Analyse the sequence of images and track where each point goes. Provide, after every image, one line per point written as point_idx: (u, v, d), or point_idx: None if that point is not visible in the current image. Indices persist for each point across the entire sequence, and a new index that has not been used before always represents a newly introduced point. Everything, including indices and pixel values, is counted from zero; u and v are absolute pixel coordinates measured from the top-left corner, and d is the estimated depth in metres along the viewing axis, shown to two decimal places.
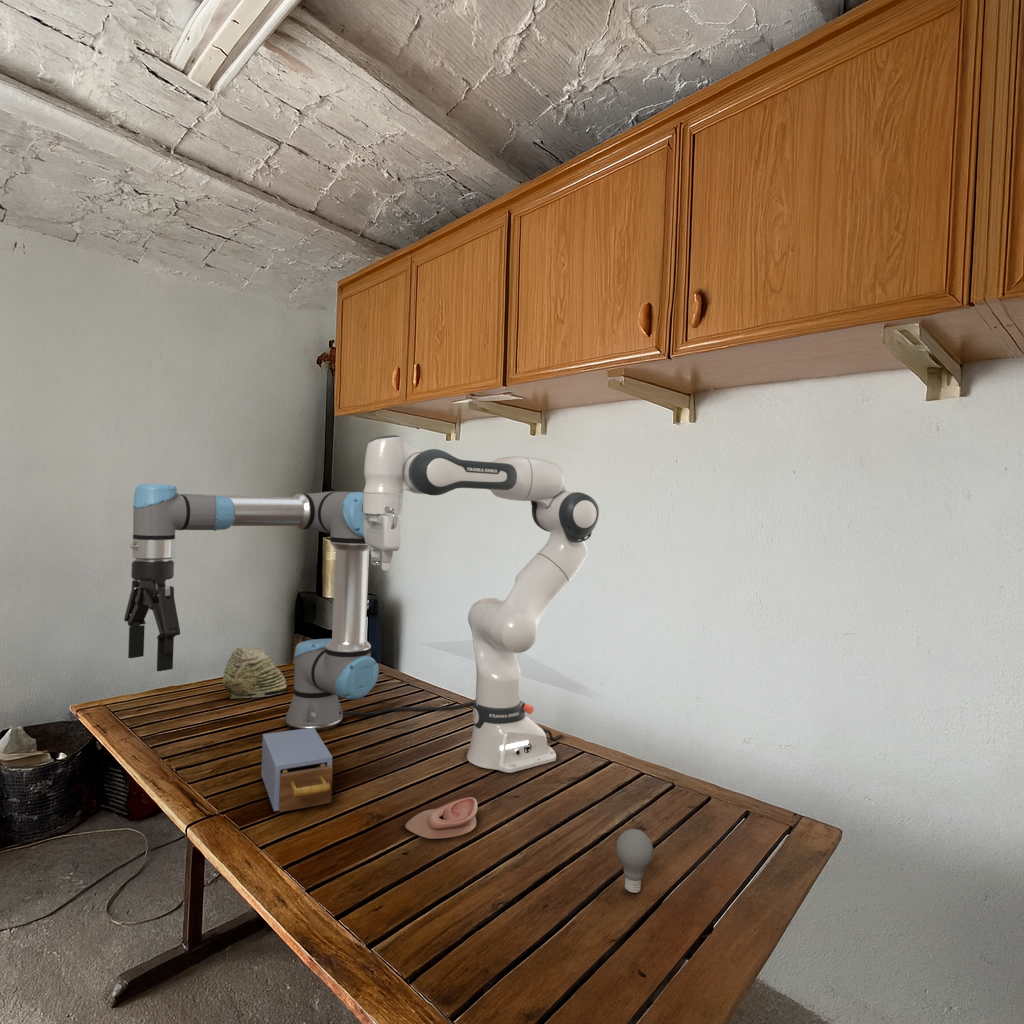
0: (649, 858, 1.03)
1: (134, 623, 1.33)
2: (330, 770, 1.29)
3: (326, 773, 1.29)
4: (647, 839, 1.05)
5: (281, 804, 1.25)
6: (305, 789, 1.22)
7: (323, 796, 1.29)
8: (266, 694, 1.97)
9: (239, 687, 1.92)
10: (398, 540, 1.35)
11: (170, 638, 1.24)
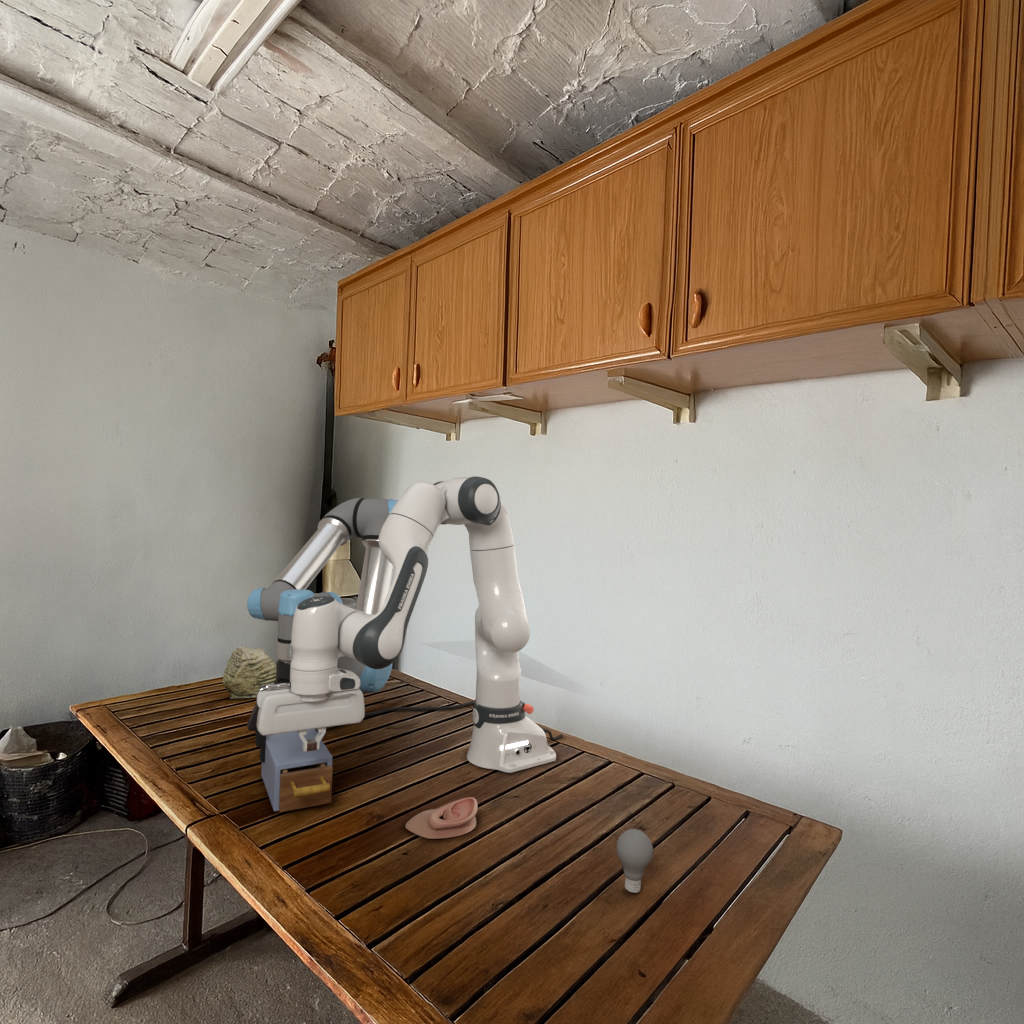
0: (649, 858, 1.03)
1: None
2: (330, 770, 1.29)
3: (326, 773, 1.29)
4: (647, 839, 1.05)
5: (281, 804, 1.25)
6: (305, 789, 1.22)
7: (323, 796, 1.29)
8: None
9: (239, 687, 1.92)
10: (258, 723, 1.19)
11: None
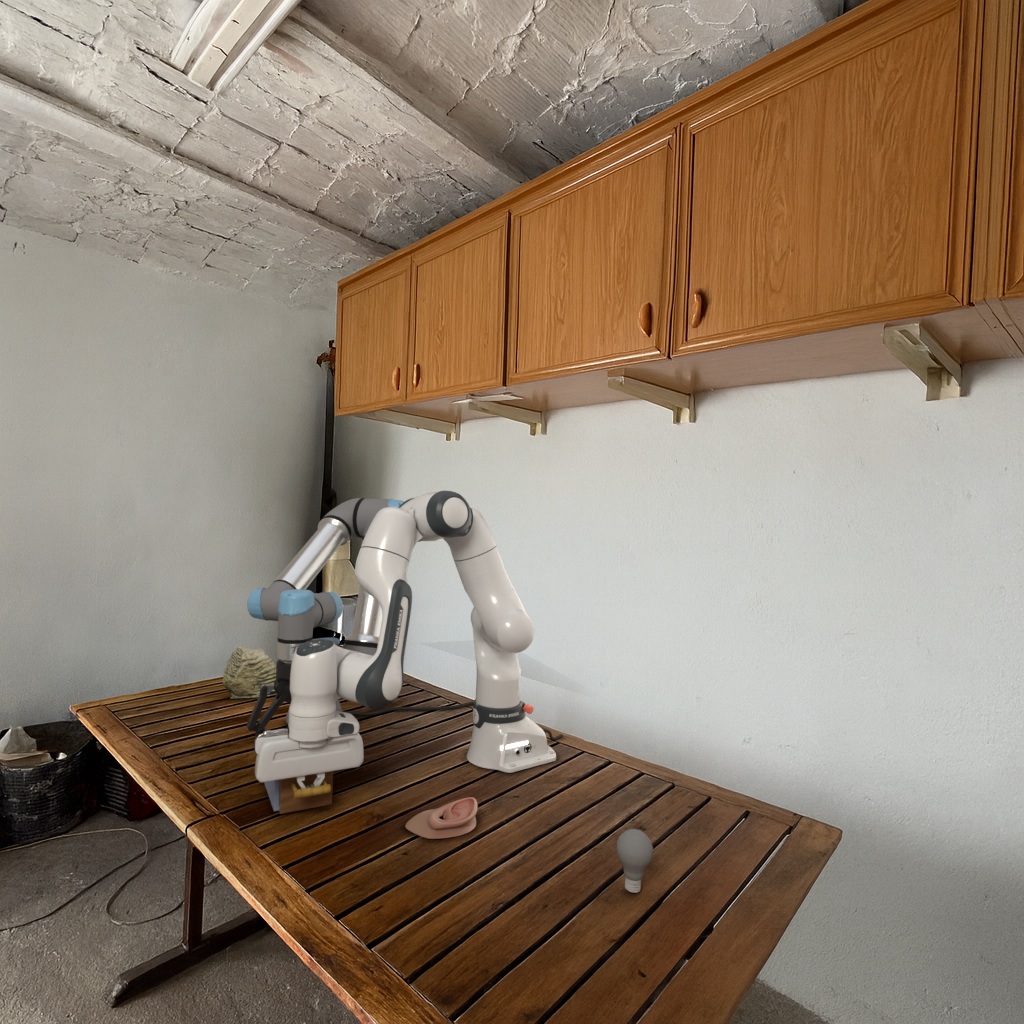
0: (649, 858, 1.03)
1: None
2: (331, 771, 1.29)
3: (327, 774, 1.28)
4: (647, 839, 1.05)
5: (281, 806, 1.24)
6: (305, 791, 1.21)
7: (324, 797, 1.28)
8: None
9: (239, 687, 1.92)
10: (256, 770, 1.18)
11: None
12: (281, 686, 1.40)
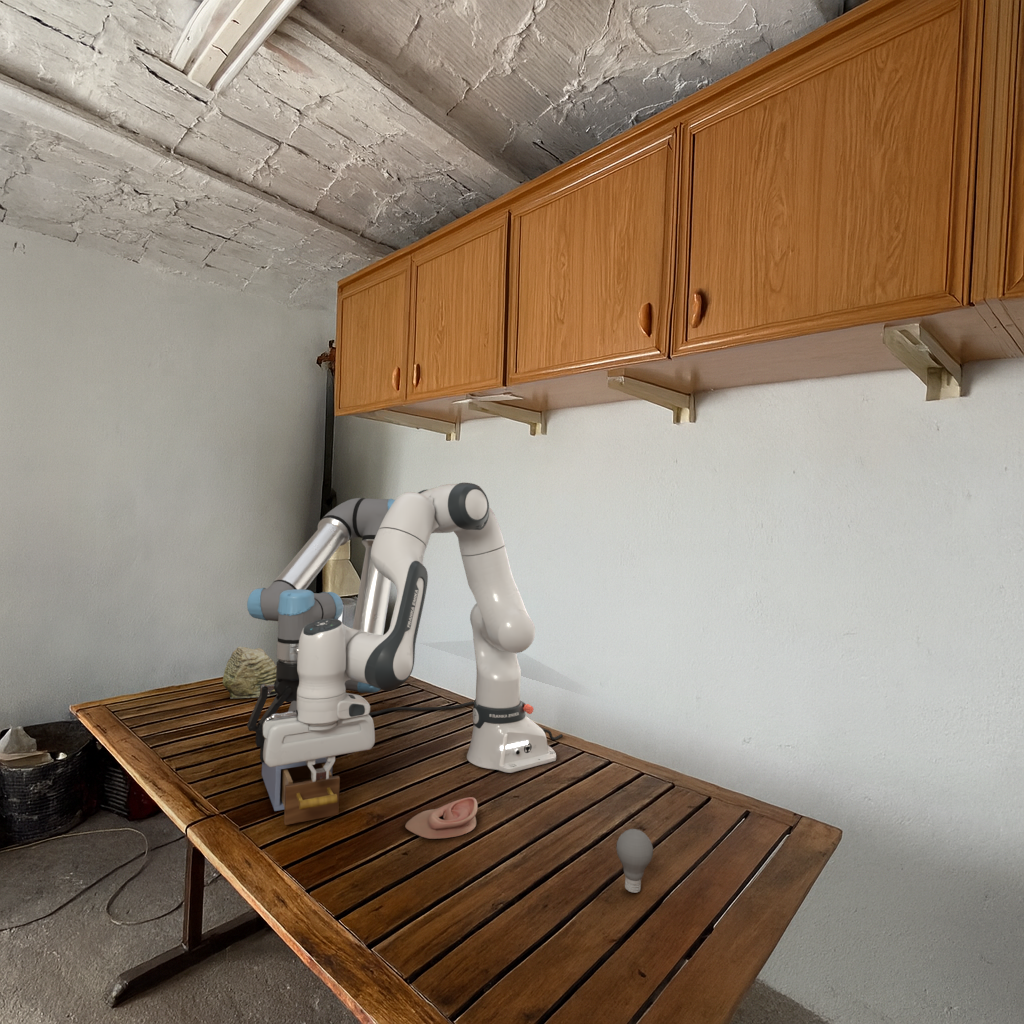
0: (649, 858, 1.03)
1: None
2: (337, 780, 1.24)
3: (333, 784, 1.24)
4: (647, 839, 1.05)
5: (286, 816, 1.20)
6: (311, 801, 1.17)
7: (330, 808, 1.24)
8: None
9: (239, 687, 1.92)
10: (265, 755, 1.13)
11: None
12: (281, 686, 1.40)
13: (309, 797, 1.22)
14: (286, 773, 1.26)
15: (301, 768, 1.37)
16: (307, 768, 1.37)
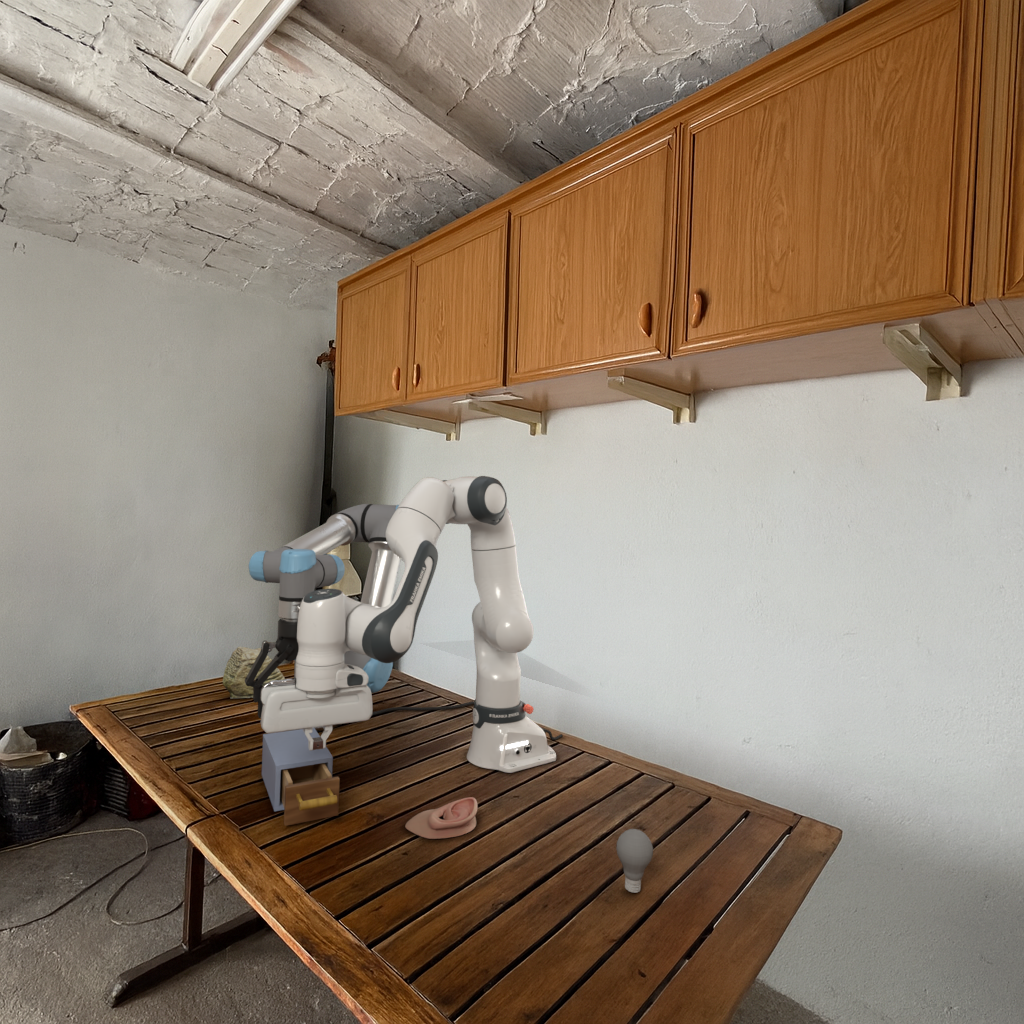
0: (649, 858, 1.03)
1: None
2: (337, 781, 1.24)
3: (333, 784, 1.24)
4: (647, 839, 1.05)
5: (286, 817, 1.20)
6: (311, 802, 1.17)
7: (330, 808, 1.24)
8: None
9: (239, 687, 1.92)
10: (263, 721, 1.14)
11: None
12: (283, 644, 1.40)
13: (309, 798, 1.22)
14: (286, 774, 1.26)
15: (301, 768, 1.37)
16: (307, 768, 1.37)
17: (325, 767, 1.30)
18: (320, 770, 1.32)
